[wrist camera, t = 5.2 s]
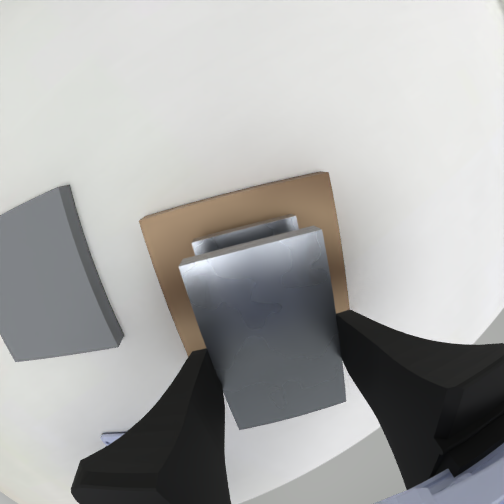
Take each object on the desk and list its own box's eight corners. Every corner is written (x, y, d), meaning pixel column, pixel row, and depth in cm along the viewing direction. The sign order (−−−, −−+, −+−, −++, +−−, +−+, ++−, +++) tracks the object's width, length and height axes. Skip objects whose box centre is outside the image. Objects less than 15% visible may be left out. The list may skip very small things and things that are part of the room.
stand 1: (123, 335, 20) (118, 347, 18) (23, 352, 19) (15, 362, 18) (69, 184, 16) (58, 186, 15) (-27, 233, 16) (-38, 237, 15)
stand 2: (344, 324, 21) (351, 334, 20) (197, 363, 21) (196, 375, 19) (320, 171, 18) (328, 172, 16) (145, 216, 18) (138, 220, 16)
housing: (318, 348, 17) (346, 401, 12) (235, 369, 17) (239, 429, 12) (291, 213, 15) (322, 229, 10) (193, 238, 15) (178, 266, 10)
